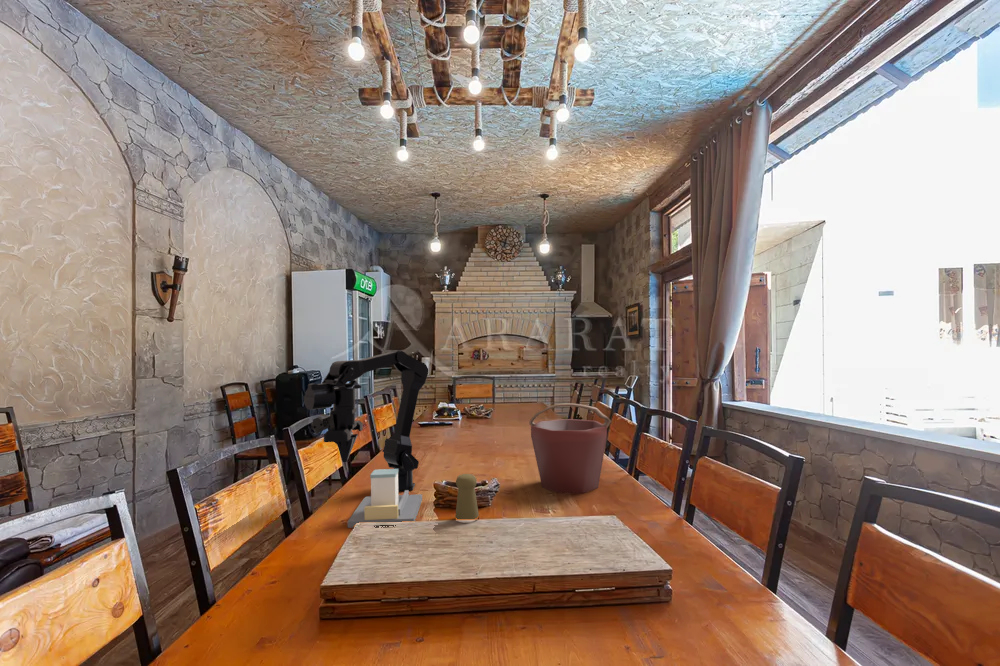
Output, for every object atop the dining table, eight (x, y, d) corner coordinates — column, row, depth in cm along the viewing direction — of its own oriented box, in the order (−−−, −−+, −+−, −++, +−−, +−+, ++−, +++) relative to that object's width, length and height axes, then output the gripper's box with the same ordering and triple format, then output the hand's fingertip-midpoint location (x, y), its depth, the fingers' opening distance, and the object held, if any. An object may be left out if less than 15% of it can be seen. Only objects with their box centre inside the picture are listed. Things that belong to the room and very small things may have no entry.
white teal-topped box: (375, 507, 127) (374, 469, 127) (399, 506, 127) (398, 468, 127) (371, 514, 121) (370, 474, 122) (395, 513, 122) (395, 474, 122)
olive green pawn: (475, 523, 118) (474, 478, 118) (452, 522, 119) (451, 477, 119) (481, 515, 124) (480, 472, 124) (459, 514, 125) (458, 471, 125)
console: (365, 501, 137) (365, 485, 137) (422, 499, 138) (421, 483, 138) (347, 527, 117) (347, 509, 118) (413, 524, 118) (413, 506, 118)
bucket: (620, 482, 150) (618, 401, 151) (594, 502, 131) (591, 410, 132) (550, 472, 163) (547, 398, 164) (516, 490, 144) (514, 406, 145)
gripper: (324, 402, 144) (325, 455, 144) (303, 411, 125) (303, 471, 125) (362, 401, 145) (363, 453, 144) (346, 409, 126) (347, 469, 126)
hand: (344, 461), depth 135 cm, fingers closed
